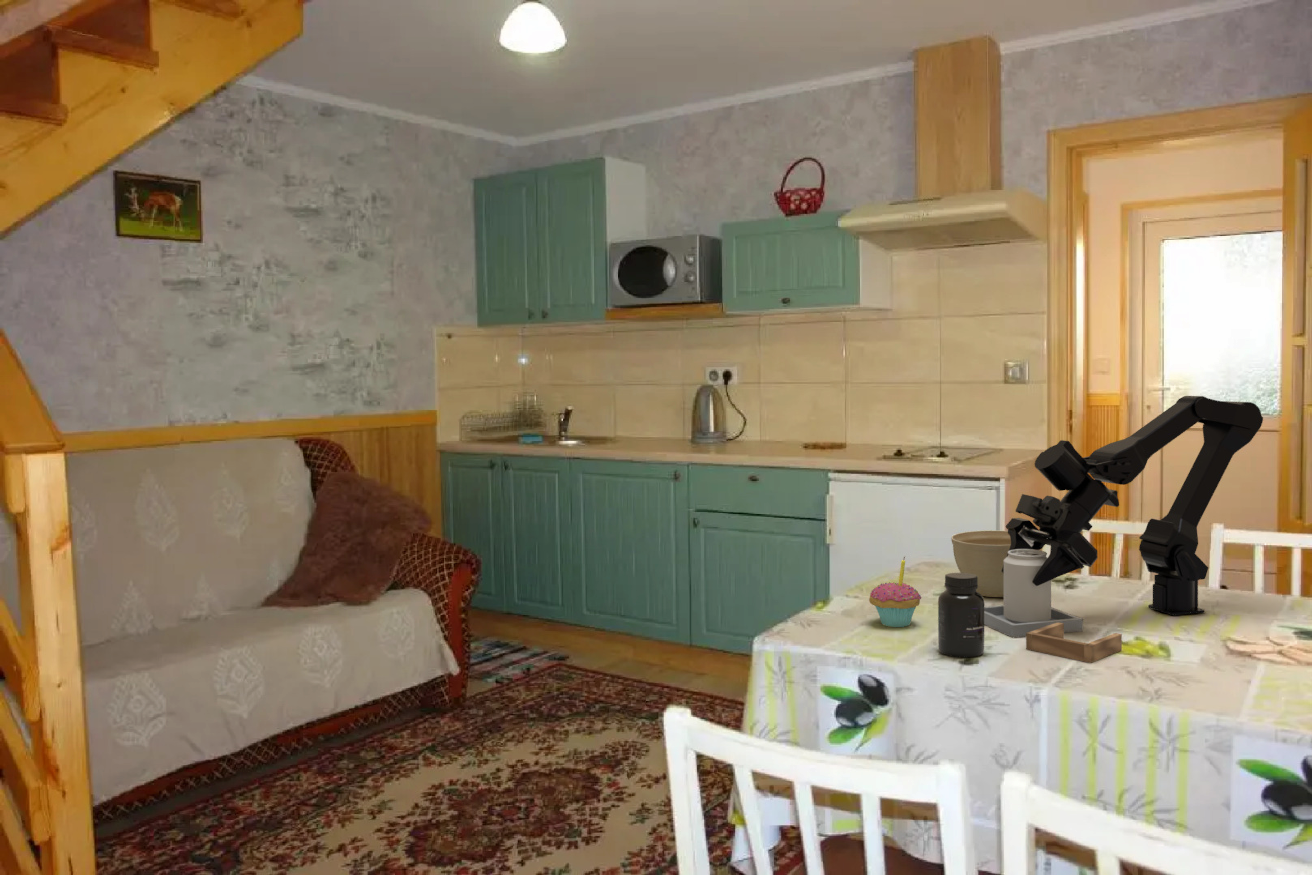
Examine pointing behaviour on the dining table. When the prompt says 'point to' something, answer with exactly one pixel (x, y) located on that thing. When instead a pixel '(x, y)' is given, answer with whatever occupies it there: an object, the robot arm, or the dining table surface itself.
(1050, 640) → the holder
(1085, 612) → the dining table surface
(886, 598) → the cupcake
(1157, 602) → the robot arm
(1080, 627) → the tray
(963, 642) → the supplement bottle
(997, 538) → the planter bowl
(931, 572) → the dining table surface
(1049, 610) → the can
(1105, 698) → the dining table surface
